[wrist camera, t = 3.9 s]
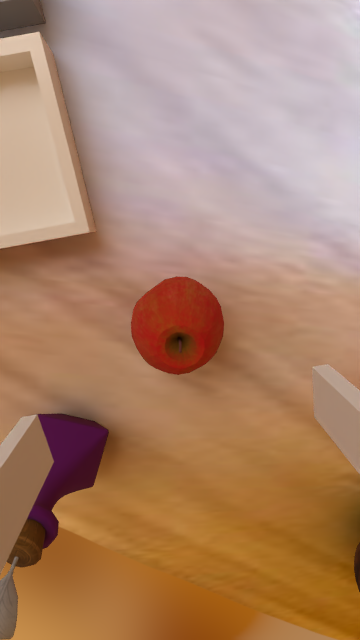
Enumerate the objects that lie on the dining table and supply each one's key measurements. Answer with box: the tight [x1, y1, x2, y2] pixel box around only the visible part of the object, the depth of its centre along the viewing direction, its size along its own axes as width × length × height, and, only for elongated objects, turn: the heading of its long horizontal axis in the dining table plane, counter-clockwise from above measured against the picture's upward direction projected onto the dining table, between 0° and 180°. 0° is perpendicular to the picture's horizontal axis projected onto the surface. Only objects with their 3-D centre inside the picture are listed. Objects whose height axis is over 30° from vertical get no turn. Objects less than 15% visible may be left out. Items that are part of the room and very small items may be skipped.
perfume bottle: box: [0, 414, 109, 639], centre depth 27 cm, size 8×8×18 cm
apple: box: [131, 277, 224, 375], centre depth 27 cm, size 8×8×11 cm
